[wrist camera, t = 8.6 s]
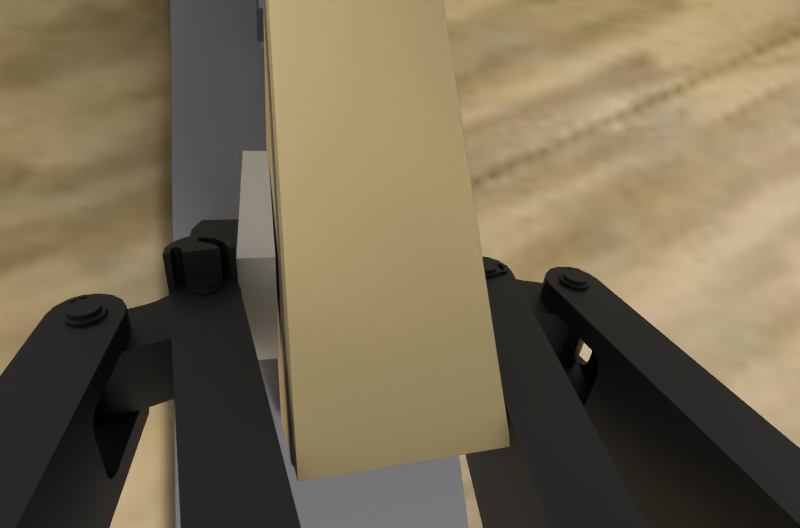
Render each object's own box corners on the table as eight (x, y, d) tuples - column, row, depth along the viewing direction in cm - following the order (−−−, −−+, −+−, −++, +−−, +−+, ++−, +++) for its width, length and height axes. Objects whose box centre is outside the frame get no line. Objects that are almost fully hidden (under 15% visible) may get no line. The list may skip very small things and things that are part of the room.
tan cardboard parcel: (266, 158, 19) (258, -142, 8) (342, 159, 20) (427, -115, 9) (280, 423, 17) (296, 483, 6) (365, 411, 18) (512, 447, 7)
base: (174, -168, 24) (168, -202, 23) (373, -134, 27) (378, -163, 25) (185, 677, 16) (177, 704, 15) (465, 607, 19) (480, 624, 18)
